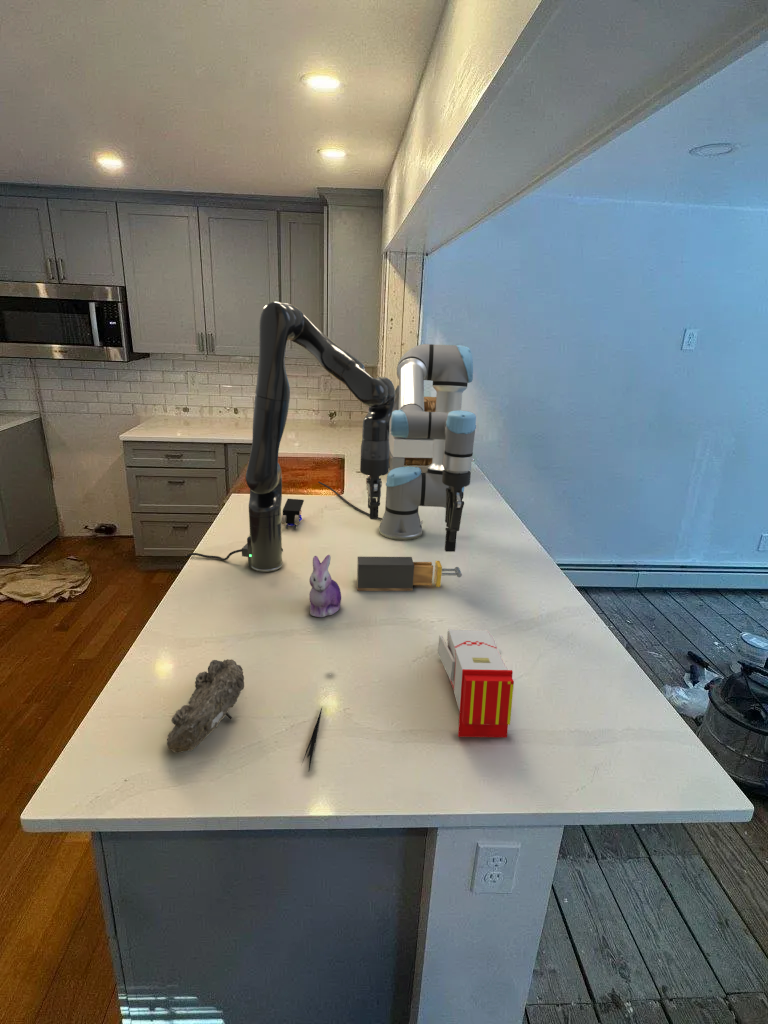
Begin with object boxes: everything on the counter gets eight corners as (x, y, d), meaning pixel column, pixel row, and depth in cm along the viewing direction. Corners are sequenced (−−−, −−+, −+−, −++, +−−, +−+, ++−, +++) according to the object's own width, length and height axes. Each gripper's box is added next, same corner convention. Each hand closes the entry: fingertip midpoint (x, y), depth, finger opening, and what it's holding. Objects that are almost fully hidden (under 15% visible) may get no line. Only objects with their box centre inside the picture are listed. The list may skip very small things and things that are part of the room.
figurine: (314, 622, 141) (314, 568, 136) (300, 603, 150) (300, 551, 145) (349, 614, 146) (350, 561, 141) (333, 597, 154) (334, 546, 149)
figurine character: (300, 535, 198) (304, 515, 212) (299, 515, 195) (304, 497, 208) (280, 534, 198) (286, 515, 211) (279, 515, 195) (286, 496, 208)
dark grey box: (410, 581, 165) (411, 556, 163) (412, 590, 160) (414, 565, 157) (356, 581, 164) (357, 556, 161) (357, 590, 159) (358, 564, 156)
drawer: (458, 580, 166) (459, 560, 164) (461, 587, 162) (463, 567, 159) (388, 580, 164) (389, 560, 162) (389, 587, 160) (390, 566, 158)
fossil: (192, 660, 117) (244, 628, 112) (224, 691, 120) (276, 661, 115) (142, 746, 98) (202, 712, 93) (182, 779, 101) (242, 748, 96)
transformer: (382, 463, 289) (386, 382, 275) (445, 464, 293) (451, 384, 279) (390, 482, 257) (394, 392, 243) (460, 483, 261) (468, 394, 247)
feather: (331, 679, 122) (336, 673, 122) (307, 777, 96) (313, 769, 95) (324, 675, 122) (329, 669, 121) (298, 772, 95) (304, 764, 95)
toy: (488, 613, 130) (523, 677, 101) (484, 667, 133) (517, 744, 104) (435, 612, 130) (455, 676, 101) (432, 666, 133) (451, 743, 103)
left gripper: (391, 462, 142) (388, 522, 148) (386, 449, 156) (384, 504, 161) (361, 462, 142) (360, 522, 147) (359, 448, 155) (357, 504, 160)
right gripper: (476, 477, 146) (467, 560, 154) (465, 463, 158) (458, 541, 166) (447, 476, 145) (440, 560, 153) (439, 463, 158) (432, 541, 166)
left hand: (372, 513), depth 154 cm, fingers open, 8 cm apart
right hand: (449, 550), depth 160 cm, fingers closed
